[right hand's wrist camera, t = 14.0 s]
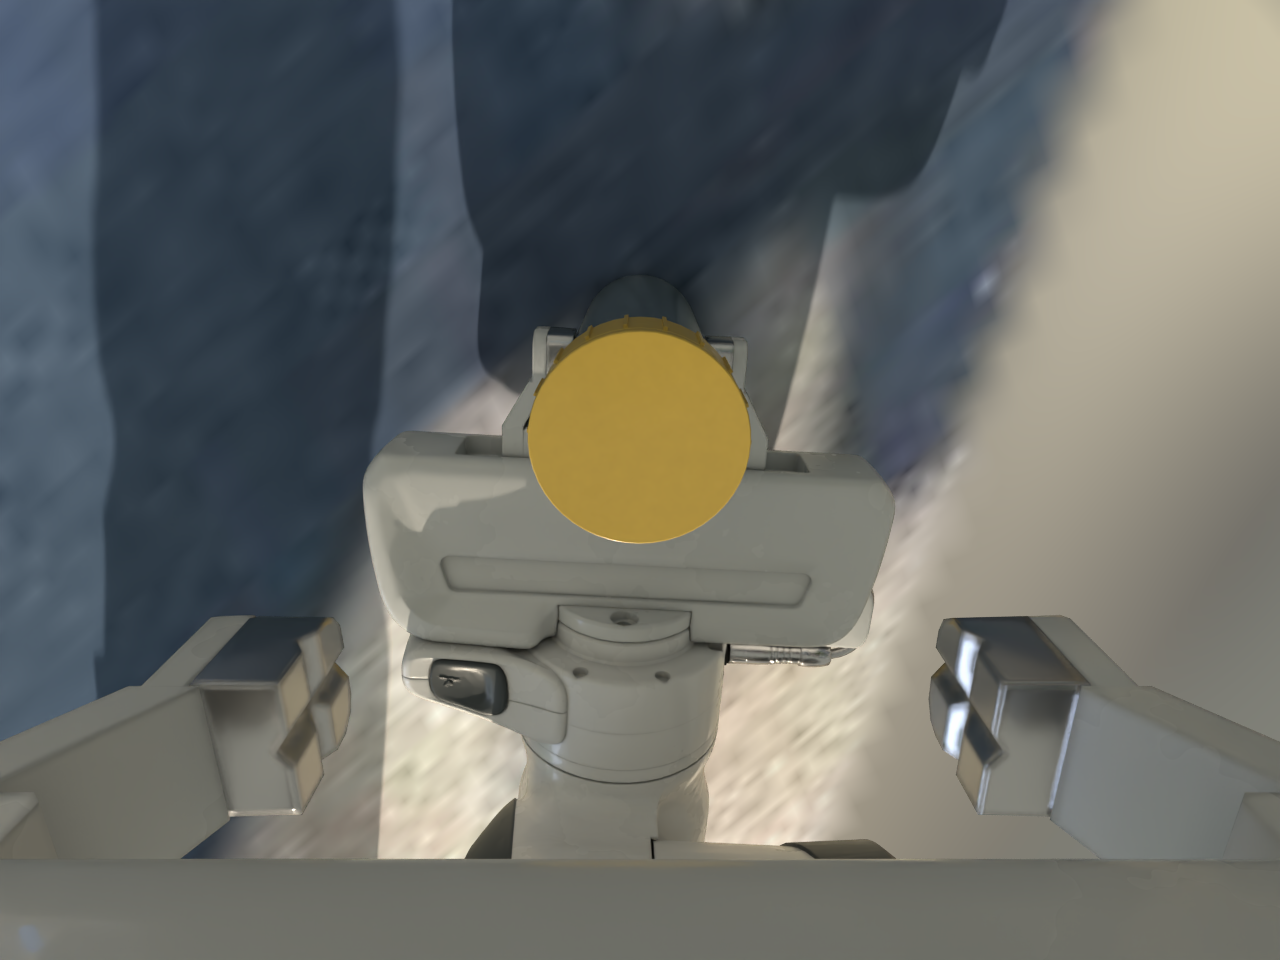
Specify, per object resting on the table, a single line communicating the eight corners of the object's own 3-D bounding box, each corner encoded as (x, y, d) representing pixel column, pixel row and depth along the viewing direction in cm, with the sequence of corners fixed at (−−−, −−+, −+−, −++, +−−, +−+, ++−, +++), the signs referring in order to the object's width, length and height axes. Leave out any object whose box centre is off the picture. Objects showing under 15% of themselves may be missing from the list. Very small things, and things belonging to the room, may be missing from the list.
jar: (717, 343, 34) (774, 456, 20) (628, 407, 35) (621, 560, 21) (651, 250, 33) (660, 298, 18) (561, 320, 34) (501, 418, 19)
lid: (782, 437, 21) (798, 463, 19) (619, 549, 23) (617, 585, 21) (662, 268, 20) (665, 277, 18) (493, 399, 21) (477, 421, 19)
